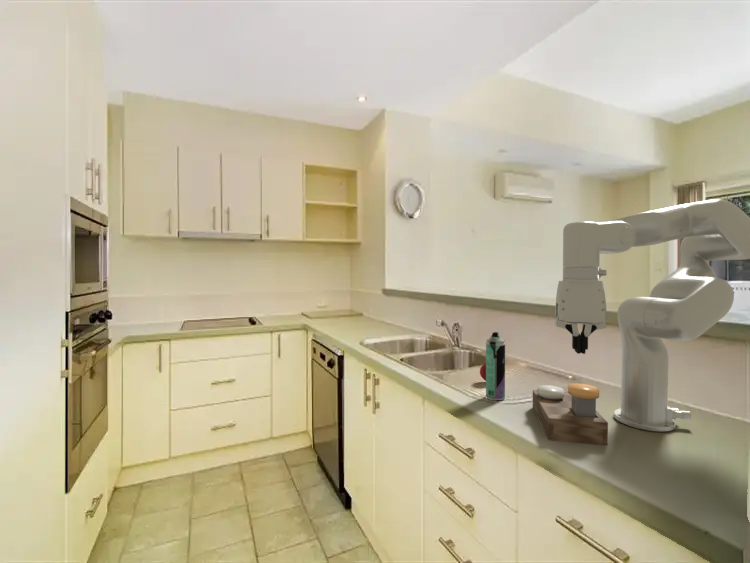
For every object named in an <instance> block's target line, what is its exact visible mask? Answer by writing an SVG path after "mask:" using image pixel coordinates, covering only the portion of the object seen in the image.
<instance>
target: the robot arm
mask: <svg viewBox="0 0 750 563" xmlns="http://www.w3.org/2000/svg"><path fill="white" fill-rule="evenodd" d="M680 239H682V240H681V243H680V247H679V248H680V249H679V252H680V254H679V258H680V260H679V263H680V264H679V267H678V268H677V269H675V270H674V271H673V272H672V273H670V274H668V275H667V276H666V277H665V278H663V279H662V280H661V281H659V282H658V283H657V284H656V285H655V286H653V288H652V290H651V292H650V294H649V296H635V297H630V298H627V299H625V300H624V301H622V302H621V303H620V304H619V307H618V309H617V314H616V316H617V322H618V327H619V332H620V338H621V377H620V378H621V380H620V381H621V384H620V385H621V386H620V388H621V389H620V390H621V391H620V393H621V394H620V395H621V396H620V397H621V398H620V407H619V408H617V409H615V410H614V411H613V417H614V419H616V420H617V421H618V422H620V423H622V424H623V425H626V426H629V427H632V428H635V429H639V430H645V431H650V432H661V433H662V432H670V431H673V430H675V429H676V421H674V420H677V419H680V420H692V413H691V411H689V410H688V411H686V410H680V409H679V408H676V407H670V406H669V405H668V402H669V401H668V400H669V399H668V397H669V393H668V392H669V353H668V349H667V347H666V345H665V343H664V340H663V339H667V340H673V341H678V342H679V341H680V342H690V341H692V340H696V339H698V338H699V337H701V336H702V335H703V334H704V333H706V332H707V331H708V330H710V329H711V328H712V327H714V325H715V324H716V323H718V322H719V321H721V320H722V319H723V318H724V317H725V316H727V314H728V313H729V312H730V310H731V308H732V306H733V304H734V300H735V294H734V293H735V292H734V290H733V287H732V285H731V284H730V283H729V282H727V281H726V280H724V279H723V278H720V277H717V273H716V271H715V270H714V268H713V267H712V266H711V265H710V261H737V260H738V261H740V260H741V261H742V260H750V216H749V215H747V213H746V212H745V211H743V210H742V209H741V208H740V207H738V206H737V205H736V204H734V203H732V202H731V201H729V200H726V199H723V198H716V199H715V198H714V199H708V200H701V201H695V202H690V203H683V204H678V205H673V206H668V207H667V206H666V207H664V208H663V207H662V208H658V209H654V210H653V209H652V210H648V211H644V212H639V213H635V214H630V215H627V216H623V217H620V218H615V219H610V220H605V221H599V222H596V221H576V222H575V221H573V222H570V223H567V224H565V225H564V226H563V232H562V280H558V283H557V288H556V297H555V308H554V313H555V322H554V325H555V326H556V327H557V328H561V329H565V330H567V331H568V332H569V333H570V334H571V335H572V337H571V338H572V339H571V347H572V349H573V350H574V352H575V353H576V354H583V355H585V354H586V350H589V337H590V336H591V335H592V334H593V333H594V332H595V331H596V330H602V329H603V330H604V329H607V328H608V327H607V326H608V325H607V321H606V320H607V301H606V293H605V291H606V290H605V287H604V283H603V280H600V279H601V277H605V276H607V269H602V268H601V267H600V256H601V255H608V254H609V255H610V254H611V255H612V254H620V253H624V252H627V251H629V250H630V249H631V248H636V247H637V248H638V247H647V246H653V245H657V244H662V243H663V244H664V243H667V242H671V241H675V240H680ZM578 324H582V326H581V332H580V333H579V327H578Z"/></svg>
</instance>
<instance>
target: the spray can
mask: <svg viewBox="0 0 750 563" xmlns="http://www.w3.org/2000/svg"><path fill="white" fill-rule="evenodd" d="M505 342H506V341H505V340H504V339H503V338H502V337H501V336H500V334H499V332H498V331H494V332H492V335H490V337H489V338H487V339H486V340H485V363H486V381H485V398H486V397H487V398H489V399H492V400H503V401H505V400H506V343H505ZM487 398H486V399H487ZM489 399H488V400H489ZM504 399H505V400H504ZM492 400H491V401H492Z"/></svg>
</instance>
